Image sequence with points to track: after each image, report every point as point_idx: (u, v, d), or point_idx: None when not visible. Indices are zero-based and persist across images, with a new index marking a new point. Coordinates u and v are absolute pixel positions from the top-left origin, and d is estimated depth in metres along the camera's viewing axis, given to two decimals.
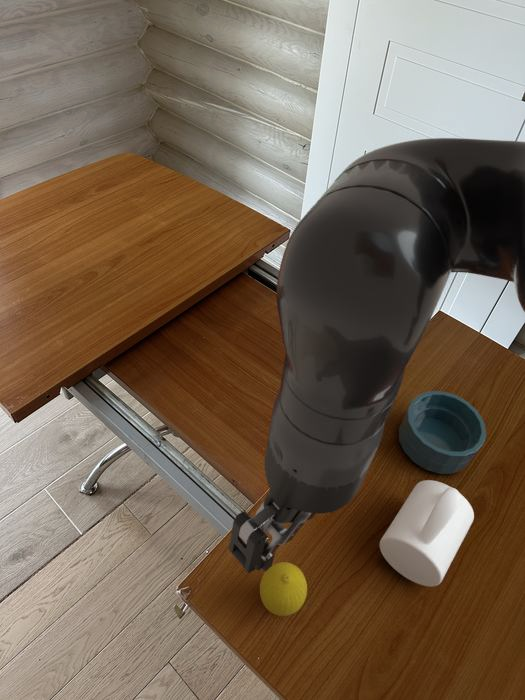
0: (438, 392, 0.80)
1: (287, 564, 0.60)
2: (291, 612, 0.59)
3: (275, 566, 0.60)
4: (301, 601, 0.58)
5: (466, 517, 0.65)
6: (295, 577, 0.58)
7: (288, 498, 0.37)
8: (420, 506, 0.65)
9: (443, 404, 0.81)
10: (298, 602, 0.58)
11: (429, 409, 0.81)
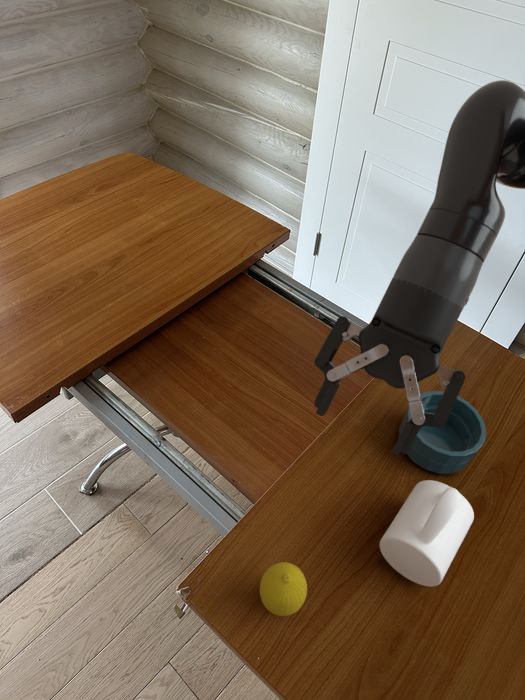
0: (438, 392, 0.80)
1: (287, 564, 0.60)
2: (291, 612, 0.59)
3: (275, 566, 0.60)
4: (301, 601, 0.58)
5: (466, 517, 0.65)
6: (295, 577, 0.58)
7: (379, 305, 0.52)
8: (420, 506, 0.65)
9: None
10: (298, 602, 0.58)
11: (429, 409, 0.81)
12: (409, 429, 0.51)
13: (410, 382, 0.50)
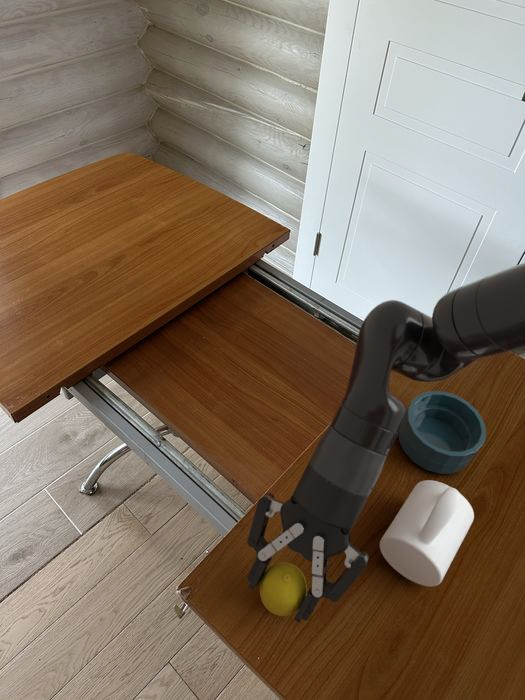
0: (438, 392, 0.80)
1: (287, 564, 0.60)
2: (291, 612, 0.59)
3: (275, 566, 0.60)
4: (301, 601, 0.58)
5: (466, 517, 0.65)
6: (295, 577, 0.58)
7: (297, 485, 0.58)
8: (420, 506, 0.65)
9: (443, 404, 0.81)
10: (298, 602, 0.58)
11: (429, 409, 0.81)
12: (309, 600, 0.57)
13: (322, 560, 0.56)
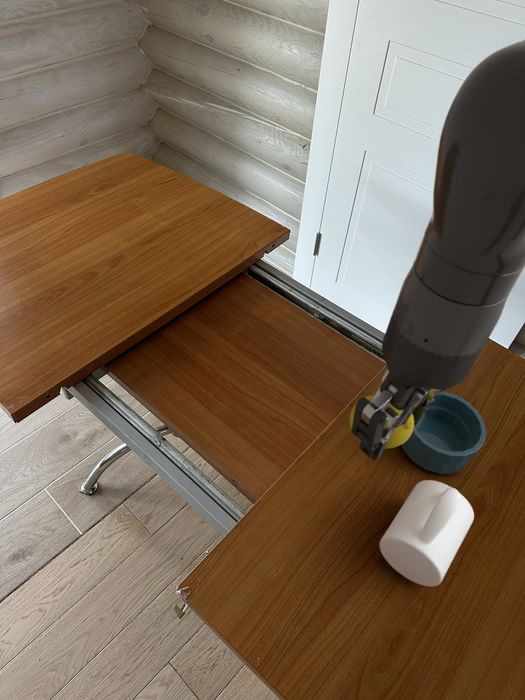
0: None
1: None
2: None
3: (384, 425, 0.50)
4: None
5: (466, 517, 0.65)
6: None
7: (411, 374, 0.41)
8: (420, 506, 0.65)
9: (443, 404, 0.81)
10: None
11: (429, 409, 0.81)
12: (424, 409, 0.52)
13: None
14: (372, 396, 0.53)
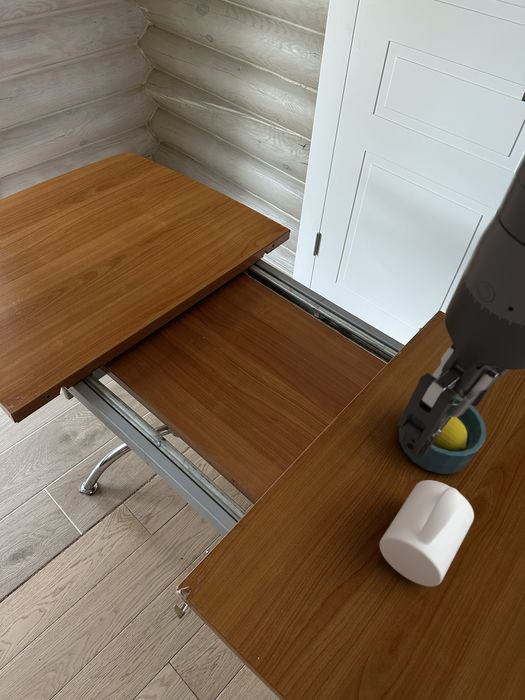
0: None
1: (461, 437, 0.75)
2: None
3: (454, 443, 0.75)
4: None
5: (466, 517, 0.65)
6: None
7: (485, 351, 0.34)
8: (420, 506, 0.65)
9: None
10: None
11: None
12: (492, 384, 0.46)
13: None
14: None
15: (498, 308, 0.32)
